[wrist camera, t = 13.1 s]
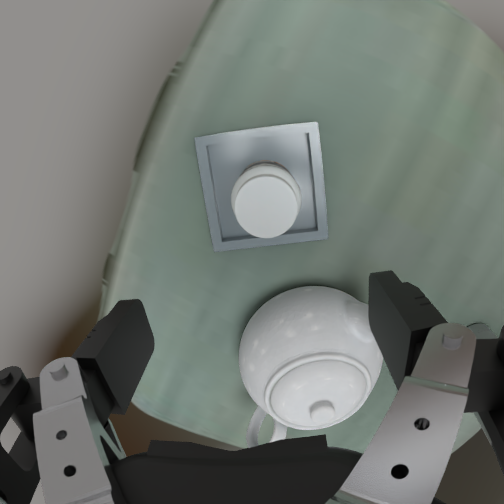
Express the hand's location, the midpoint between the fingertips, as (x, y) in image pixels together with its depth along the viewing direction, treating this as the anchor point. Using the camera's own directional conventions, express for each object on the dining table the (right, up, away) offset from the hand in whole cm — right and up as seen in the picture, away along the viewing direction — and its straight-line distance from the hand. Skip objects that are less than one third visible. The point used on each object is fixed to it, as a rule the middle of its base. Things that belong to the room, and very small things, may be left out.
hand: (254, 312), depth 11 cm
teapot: (+7, -9, +29) cm, 32 cm away
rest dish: (+1, +9, +22) cm, 24 cm away
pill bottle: (+1, +9, +22) cm, 24 cm away
